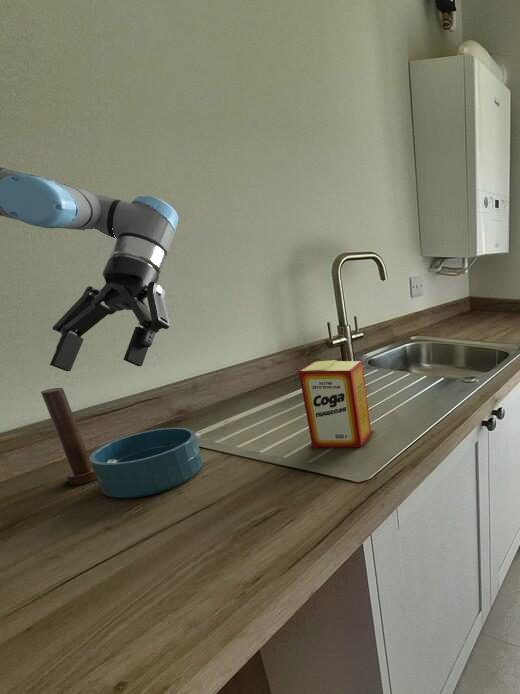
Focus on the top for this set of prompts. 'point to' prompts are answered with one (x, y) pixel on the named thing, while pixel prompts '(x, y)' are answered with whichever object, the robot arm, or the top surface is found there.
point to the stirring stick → (69, 436)
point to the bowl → (146, 462)
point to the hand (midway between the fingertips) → (96, 365)
